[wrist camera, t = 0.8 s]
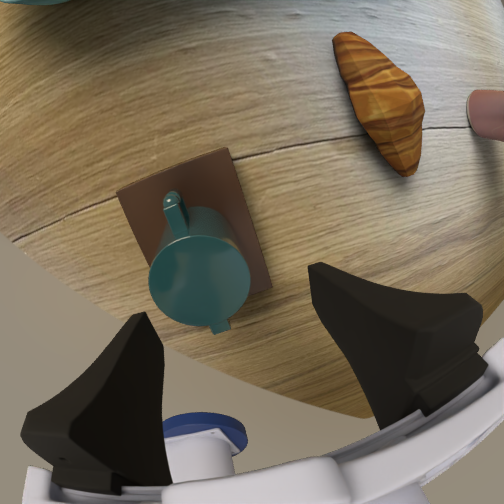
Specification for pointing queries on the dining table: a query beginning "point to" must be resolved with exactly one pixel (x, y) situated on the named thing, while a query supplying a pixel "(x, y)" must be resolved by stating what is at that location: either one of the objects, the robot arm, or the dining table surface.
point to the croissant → (382, 101)
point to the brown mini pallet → (195, 194)
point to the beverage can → (487, 113)
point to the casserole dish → (34, 2)
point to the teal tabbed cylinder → (198, 266)
